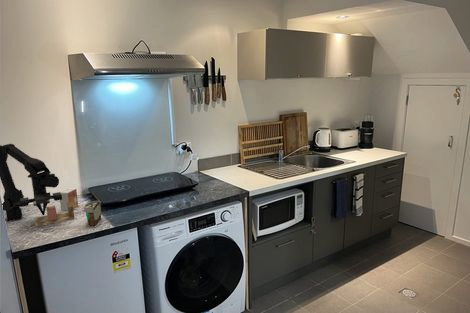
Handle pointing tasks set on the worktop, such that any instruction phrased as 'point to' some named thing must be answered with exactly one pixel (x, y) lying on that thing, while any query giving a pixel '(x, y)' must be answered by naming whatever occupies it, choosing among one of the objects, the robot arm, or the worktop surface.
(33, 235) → the worktop surface
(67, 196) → the small box
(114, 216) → the worktop surface
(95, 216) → the food container
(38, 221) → the rail
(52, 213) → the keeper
